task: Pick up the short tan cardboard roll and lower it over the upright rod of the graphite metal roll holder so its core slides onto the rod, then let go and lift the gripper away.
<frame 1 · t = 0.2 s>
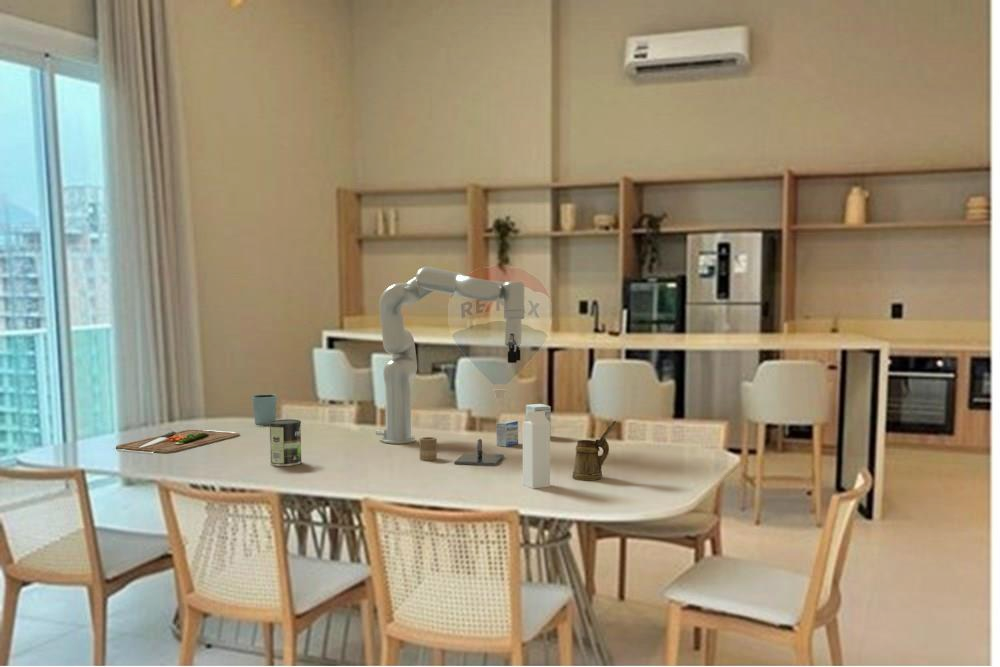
hand: (514, 361, 314), 31 cm above the table, fingers open, 9 cm apart
holder: (479, 460, 288), on the table
milk: (536, 486, 252), on the table
coffee can: (285, 463, 285), on the table
blue cup: (264, 423, 368), on the table
roll: (428, 458, 291), on the table
chopping board: (180, 443, 325), on the table
wooden mug: (594, 478, 262), on the table
supplement box: (538, 438, 331), on the table
medicine box: (507, 445, 316), on the table
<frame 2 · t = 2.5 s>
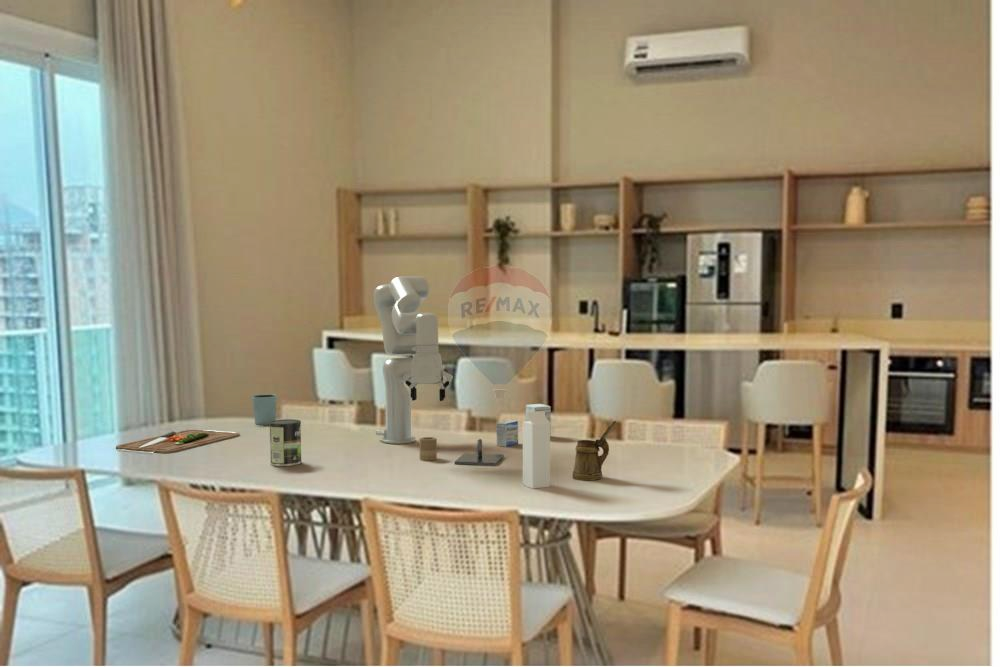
hand: (428, 400, 290), 20 cm above the table, fingers open, 9 cm apart
nothing on the table moved.
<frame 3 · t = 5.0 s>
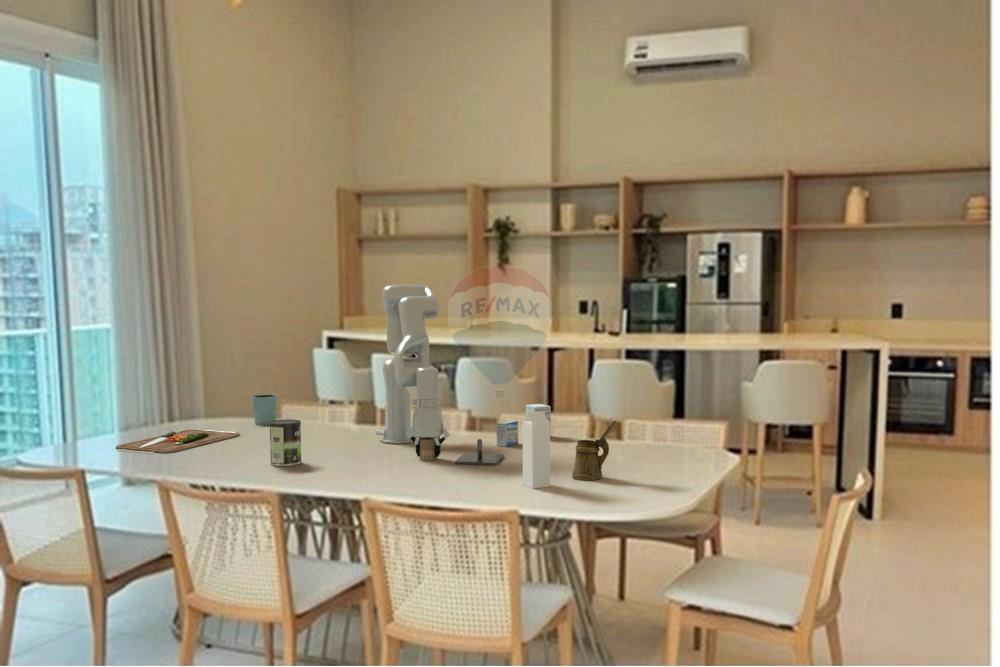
hand: (428, 455, 291), 1 cm above the table, fingers closed on roll, 5 cm apart
roll: (428, 458, 291), on the table, touching gripper
everything else where it was.
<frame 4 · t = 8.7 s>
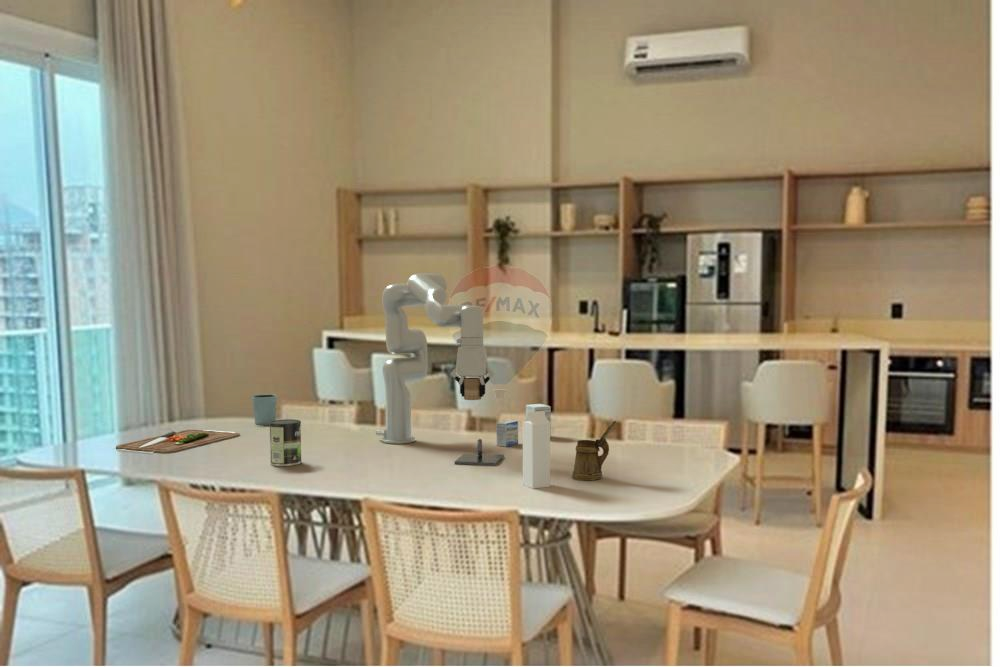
hand: (472, 395, 287), 22 cm above the table, fingers closed on roll, 5 cm apart
roll: (472, 399, 287), point 21 cm above the table, touching gripper
everything else where it was.
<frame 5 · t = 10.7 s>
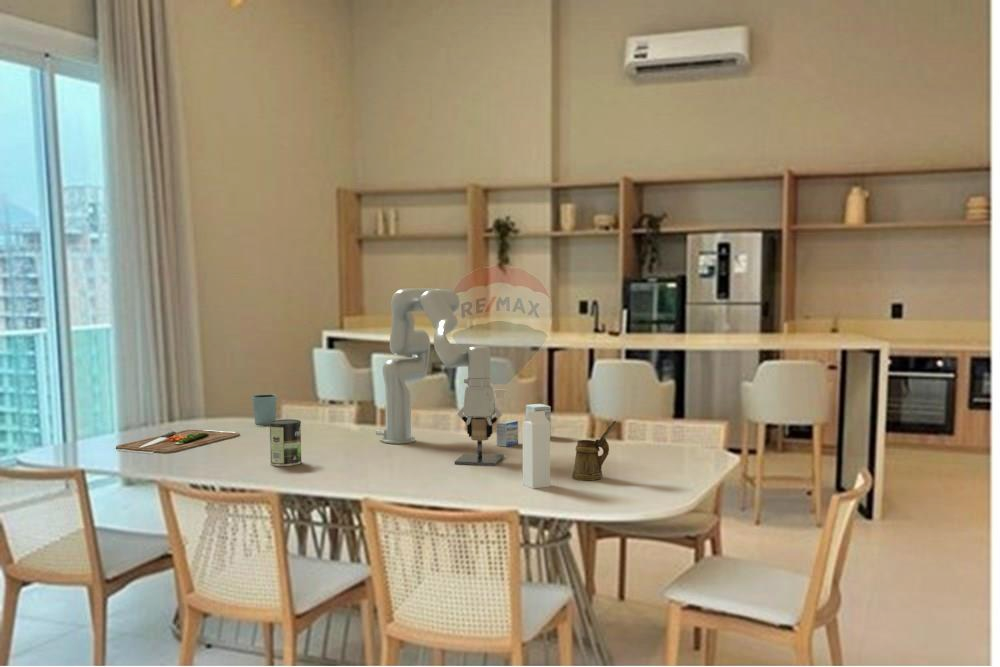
hand: (479, 435, 287), 8 cm above the table, fingers closed on roll, 5 cm apart
roll: (479, 439, 287), point 7 cm above the table, touching gripper
everything else where it was.
when the fingers open (3 cm above the table, at t = 12.6 s): roll drops 1 cm, resting on holder.
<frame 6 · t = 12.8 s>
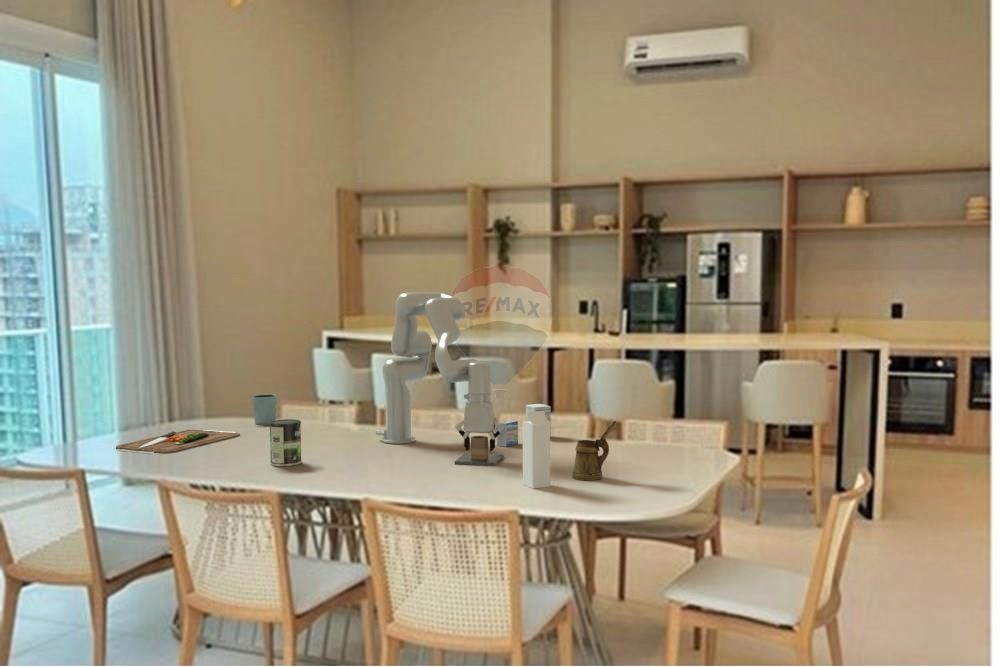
hand: (479, 449, 288), 4 cm above the table, fingers open, 7 cm apart
roll: (479, 457, 288), point 1 cm above the table, touching holder
everything else where it was.
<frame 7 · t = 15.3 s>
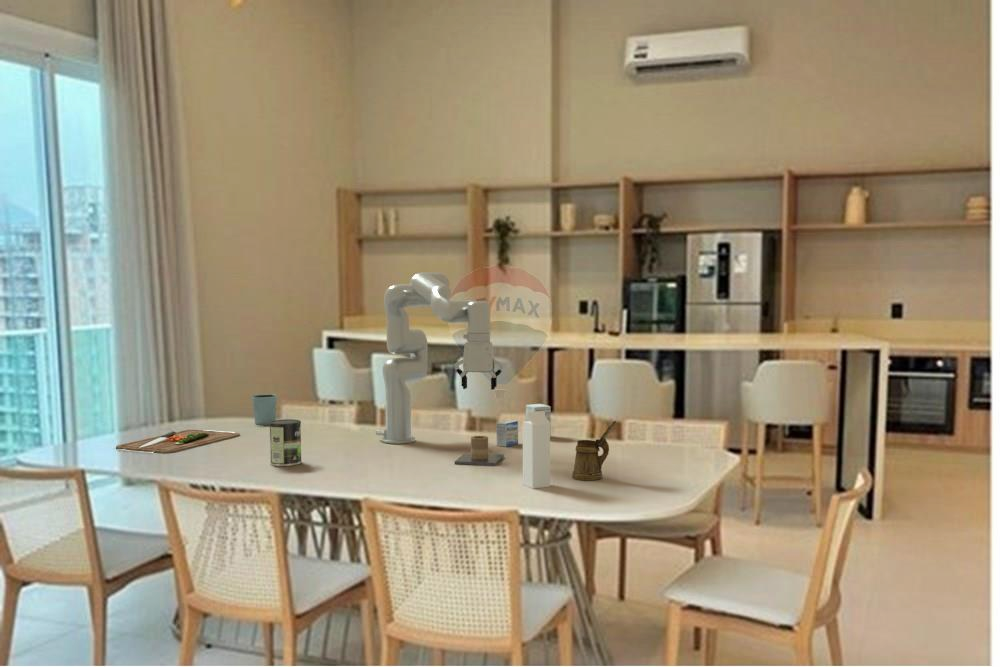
hand: (479, 388, 287), 24 cm above the table, fingers open, 9 cm apart
nothing on the table moved.
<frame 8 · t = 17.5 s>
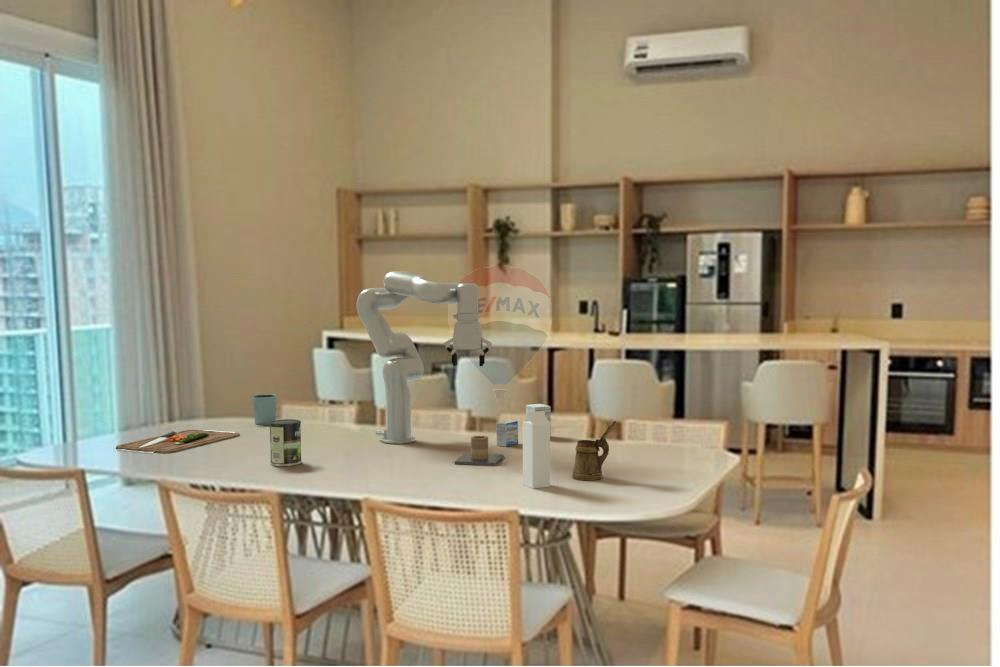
hand: (468, 365, 305), 30 cm above the table, fingers open, 9 cm apart
nothing on the table moved.
at the end: roll 0.1 cm off-centre on the holder, point 1.0 cm above the holder's base; roll tilted 0°; the gripper is holding nothing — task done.
